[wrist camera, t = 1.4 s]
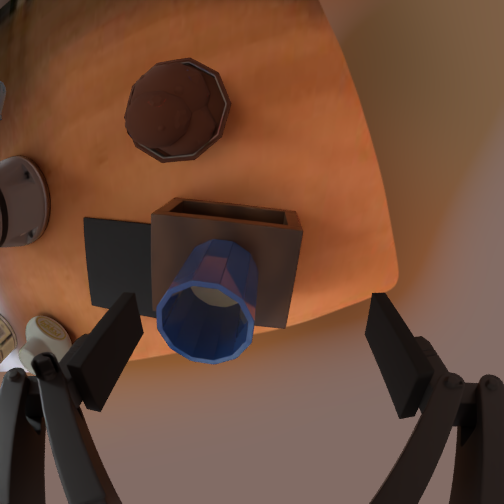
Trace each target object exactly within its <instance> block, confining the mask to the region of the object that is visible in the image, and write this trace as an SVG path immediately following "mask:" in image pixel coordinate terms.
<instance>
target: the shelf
mask: <svg viewBox="0 0 504 504" xmlns="http://www.w3.org/2000/svg"><path fill="white" fill-rule="evenodd" d="M302 235H303V229H302V227H301V224H300V221H299V219H298V216H297V213H296V211H290V210H282V209H274V208H266V207H258V206H249V205H240V204H231V203H222V202H213V201H203V200H193V199H182V198H174V199H173V200H171V201H170V202H168V203H167V204H165V205H164V206H162V207H161V208H159V209H158V210H156V211H155V212H153V213H152V214H151V277H152V304H153V311H156V307H157V305H158V303H159V302H160V300H161V299H162V297H163V295H164V294H165V292H166V291H167V289H168V287H169V286H170V284H171V283H172V281H173V280H174V278H175V276H176V275H177V273H178V272H179V270H180V269H181V267H182V265H183V264H184V262H185V261H186V259H187V258H188V256H189V255H190V254H191V252H192V251H193V249H194V248H195V247H196V246H198V245H200V244H203V243H205V242H207V241H210V240H212V239H218V240H226V241H233V242H235V243H237V244H238V245H240V246H241V247H242V248H244V249H245V250H247V251H248V252H249V253H250V254H251V255H252V257H253V260H254V262H255V264H256V266H257V268H258V271H259V272H258V285H257V298H256V311H255V323H254V325H255V326H264V327H273V328H282V329H285V328H286V323H287V318H288V313H289V308H290V302H291V297H292V292H293V286H294V281H295V276H296V270H297V264H298V259H299V253H300V247H301V241H302Z"/></svg>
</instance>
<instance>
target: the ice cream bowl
mask: <svg viewBox="0 0 504 504" xmlns="http://www.w3.org/2000/svg"><path fill="white" fill-rule="evenodd" d="M230 106H231V101H230V99H229V96H228V94H227V91H226V89H225V87H224V84H223V82H222V79H221V77H220V74H219V73H218V72H217V71H215V70H213V69H211V68H209V67H207V66H205V65H203V64H201V63H200V62H198V61H196V60H194V59H192V58H184V59H177V60H171V61H166V62H160V63H156V64H155V65H154V66H153V67H152V68H151V69H150V70H149V71H148V72H147V73H145V74H144V75H142V76H141V77H140V79H139V80H137V81H136V83H135V84H134V85H133V86H132V89H131V93H130V96H129V100H128V104H127V108H126V112H125V117H124V118H125V127H126V129H127V132H128V134H129V135H130V137H131V138H132V139H133V142H134V145H135V147H137V148H138V149H140V150H142V151H143V152H145V153H147V154H148V155H150V156H151V157H153V158H155V159H156V160H158V161H160V162H161V163H166V162H176V161H186V160H195V159H196V158H198V157H199V156H200V155H201V154H202V153H203V152H205V151H206V150H207V149H208V148H209V147H211V146H212V145H213V144H214V143H215V142H217V141H218V140H219V139H220V138H221V137H222V135H223V131H224V128H225V124H226V121H227V117H228V113H229V110H230Z"/></svg>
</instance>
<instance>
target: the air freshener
mask: <svg viewBox="0 0 504 504" xmlns="http://www.w3.org/2000/svg"><path fill="white" fill-rule="evenodd" d="M25 333H26V340H27V343H26V344H25V345H24V346H23V347H22V348H21V349H20V350H19V359H20V361H21V363H22V365H23V366H24V367H25V368H26V369H27V370H28V371H29V372H30V373H32V374H34V375H36V374H35V372H34V370H33V368H32V366H31V361H32V359H33V358H34V357H35V356H36V355H38V354H40V353H43V352H52V353H53V354H55V356H56V358H57V360H58V363H59V362H60V360H61V359H62V358H63V356H64V355H65V354H66V353H67V351H69V349H70V347H71V346H72V343H71V340H70V337H69V335H68V334H67V332H66V331H65V329H64V328H63V327H62V326H61V325H60V324H59V323H58V322H56V321H55V320H53V319H51V318H49V317H46V316H36V317H33V318H32V319H31V320H30V321H29V322H28V324H27V326H26V332H25Z"/></svg>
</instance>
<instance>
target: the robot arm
mask: <svg viewBox="0 0 504 504" xmlns="http://www.w3.org/2000/svg"><path fill="white" fill-rule="evenodd" d="M5 96H6V88H5V85H4V84H3V83H2V82H1V81H0V120H2V115H1V114H2V109H3V104H4V100H5ZM49 214H50V197H49V191H48V187H47V183H46V180H45V178H44V176H43V174H42V172H41V170H40V169H39V167H38V166H37V165H36V164H35V163H34V162H33V161H32V160H31V159H29V158H27V157H24V156H14V157H10V158H7V159H5V160H3V161H1V162H0V247H17V246H25V245H28V244H30V243H32V242H34V241H35V240H37V239H38V238H39V237H40V236H41V235H42V234H43V232H44V231H45V229H46V226H47V224H48V220H49ZM143 333H144V332H143V328H142V324H141V319H140V315H139V310H138V305H137V300H136V295H135V293H130V292H123V293H122V294H121V295H120V297H119V298H118V299H117V300H116V301H115V303H114V304H113V305H112V306H111V308H110V309H109V310H108V311H107V312H106V314H105V315H104V316H103V317H102V319H101V320H100V321H99V322H98V324H97V325H96V326H95V327H94V329H93V330H92V331H91V333H90V334H84V335H83V336H81V337H80V338H78V339H77V340H76V341H75V342H74V344H73V345H72V346H71V347H70V349H69V351H67V353H66V354H65V355H64V356H63V358H62V359H61V360H60V362H59V363H58V360H57V358H56V356H55V354H53V353H52V352H43V353H40V354H38V355H36V356H35V357H34V358H33V359H32V361H31V366H32V368H33V370H34V372H35V374H36V376H27V375H26V373H25V371H24V369H22V368H13V369H11V370H9V371H8V372H7V373H6V374H5V375H4V377H3V381H2V384H1V388H0V504H45V478H44V458H45V457H44V456H45V454H44V453H45V431H46V429H47V432H48V437H49V441H50V445H51V449H52V453H53V457H54V460H55V464H56V467H57V470H58V473H59V477H60V480H61V483H62V486H63V489H64V492H65V495H66V497H67V500H68V503H69V504H122V502H121V501H120V498H119V497H118V495H117V493H116V491H115V489H114V487H113V485H112V483H111V481H110V479H109V477H108V474H107V472H106V470H105V468H104V466H103V463H102V462H101V459H100V457H99V454H98V452H97V450H96V447H95V445H94V442H93V440H92V437H91V435H90V432H89V429H88V427H87V424H86V421H85V418H84V416H83V413H82V410H81V408H80V404H81V402H82V401H83V402H84V404H85V406H86V408H87V409H90V410H94V411H98V412H101V410H102V408H103V406H104V405H105V402H106V400H107V399H108V397H109V395H110V393H111V391H112V389H113V387H114V386H115V384H116V382H117V380H118V378H119V376H120V374H121V373H122V371H123V369H124V367H125V365H126V364H127V362H128V360H129V358H130V356H131V354H132V353H133V351H134V349H135V347H136V346H137V344H138V342H139V340H140V338H141V337H142V335H143ZM365 336H366V338H367V341H368V343H369V345H370V348H371V350H372V352H373V354H374V357H375V359H376V362H377V364H378V366H379V369H380V371H381V374H382V376H383V379H384V381H385V383H386V386H387V388H388V391H389V393H390V396H391V398H392V401H393V403H394V406H395V409H396V411H397V414H398V417H399V419H403V418H408V417H413V416H415V414H416V412H417V410H418V408H419V409H420V411H421V413H422V415H421V416H420V418H419V420H418V423H417V424H416V426H415V428H414V431H413V432H412V434H411V437H410V438H409V440H408V442H407V444H406V446H405V447H404V449H403V451H402V453H401V454H400V456H399V458H398V460H397V461H396V463H395V465H394V466H393V468H392V470H391V471H390V473H389V475H388V476H387V478H386V480H385V481H384V483H383V484H382V486H381V487H380V489H379V490H378V492H377V493H376V495H375V496H374V497H373V499H372V501H371V502H370V503H369V504H418V502H419V500H420V498H421V496H422V495H423V493H424V491H425V489H426V487H427V485H428V483H429V481H430V479H431V477H432V474H433V472H434V470H435V468H436V466H437V463H438V461H439V459H440V456H441V454H442V452H443V449H444V447H445V444H446V442H447V439H448V436H449V434H450V431H451V429H452V426H457V444H456V456H455V466H454V474H453V482H452V489H451V495H450V501H449V504H504V384H503V382H502V381H501V380H500V378H498V377H496V376H494V375H484V376H483V377H482V378H481V379H480V381H479V383H465V382H464V380H463V379H462V378H461V377H460V376H459V375H457V374H455V373H450V372H448V370H447V368H446V367H445V365H444V364H443V362H442V360H441V359H440V358H439V356H438V355H437V353H436V351H435V350H434V349H433V347H432V345H431V344H430V342H429V341H427V340H426V339H425V338H423V337H422V336H420V337H414V336H413V335H412V333H411V332H410V330H409V328H408V327H407V325H406V324H405V322H404V321H403V319H402V318H401V316H400V314H399V313H398V311H397V310H396V309H395V307H394V305H393V304H392V303H391V301H390V299H389V298H388V297H387V295H386V294H385V293H372V298H371V304H370V309H369V315H368V321H367V326H366V331H365Z"/></svg>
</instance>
